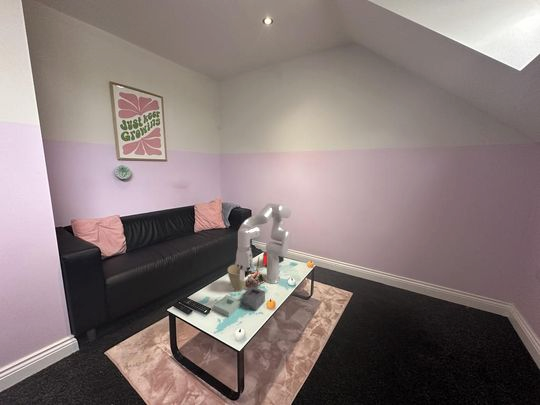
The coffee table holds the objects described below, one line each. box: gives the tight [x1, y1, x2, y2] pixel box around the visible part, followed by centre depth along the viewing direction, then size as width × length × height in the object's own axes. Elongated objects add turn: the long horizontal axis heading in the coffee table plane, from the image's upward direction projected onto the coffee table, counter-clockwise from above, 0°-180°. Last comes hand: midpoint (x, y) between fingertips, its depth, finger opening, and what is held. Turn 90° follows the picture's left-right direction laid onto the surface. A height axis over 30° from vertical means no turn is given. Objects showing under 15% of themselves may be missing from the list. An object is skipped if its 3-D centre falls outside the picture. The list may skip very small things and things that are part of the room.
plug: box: [240, 267, 249, 281], centre depth 131 cm, size 4×3×7 cm
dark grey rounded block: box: [241, 286, 266, 312], centre depth 136 cm, size 11×11×8 cm
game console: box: [262, 251, 285, 268], centre depth 192 cm, size 28×6×15 cm, turn 139°
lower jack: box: [213, 294, 242, 318], centre depth 132 cm, size 12×12×4 cm
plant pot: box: [227, 263, 247, 292], centre depth 152 cm, size 15×15×16 cm
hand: (243, 275), depth 131 cm, fingers closed on plug, 3 cm apart
